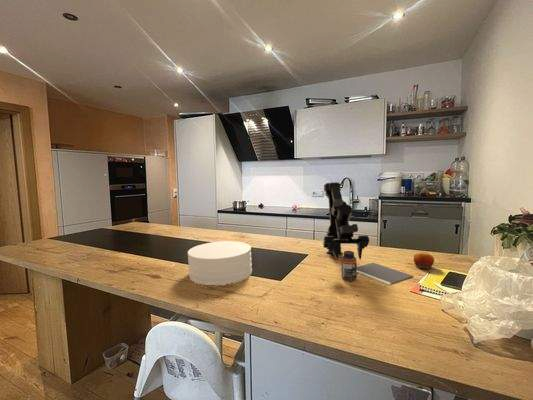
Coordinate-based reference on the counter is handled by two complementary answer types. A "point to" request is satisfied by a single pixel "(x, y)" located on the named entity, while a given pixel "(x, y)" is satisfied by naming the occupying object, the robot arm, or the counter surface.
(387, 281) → the mat
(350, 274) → the supplement bottle
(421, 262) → the fruit
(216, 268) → the plate stack
